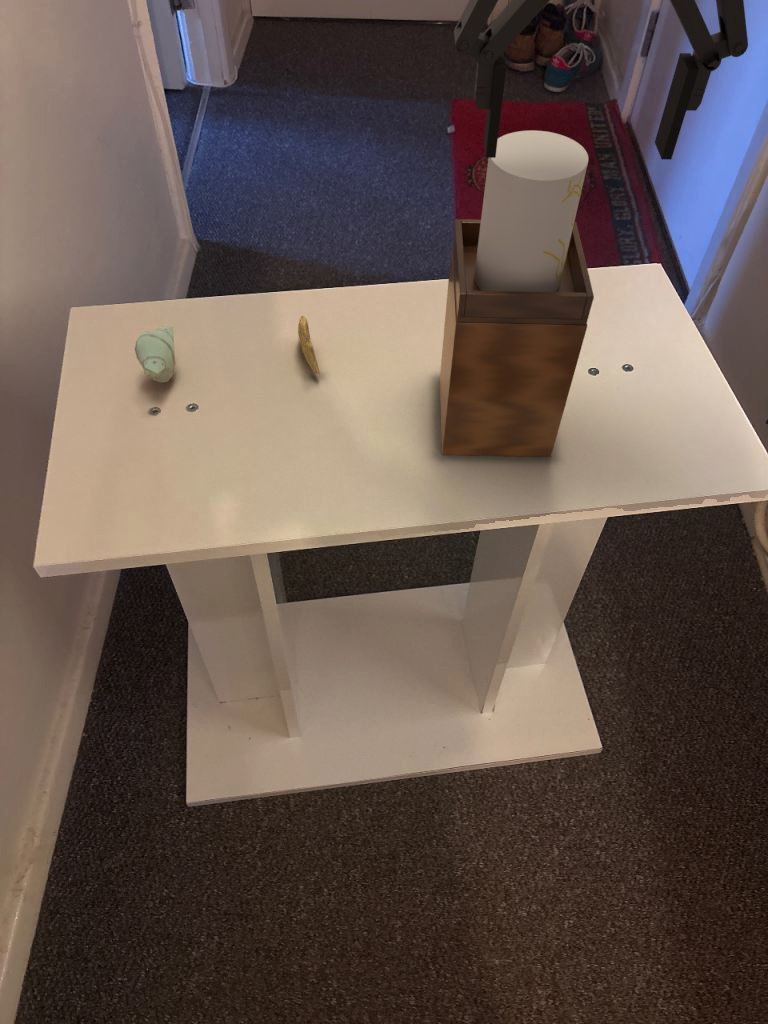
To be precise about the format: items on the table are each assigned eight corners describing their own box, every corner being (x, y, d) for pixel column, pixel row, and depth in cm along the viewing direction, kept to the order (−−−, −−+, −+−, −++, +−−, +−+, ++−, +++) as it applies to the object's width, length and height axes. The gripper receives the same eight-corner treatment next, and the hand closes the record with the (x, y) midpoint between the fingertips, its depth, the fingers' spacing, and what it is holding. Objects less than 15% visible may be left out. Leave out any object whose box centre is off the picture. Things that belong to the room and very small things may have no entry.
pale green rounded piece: (172, 404, 87) (159, 359, 82) (138, 402, 87) (122, 357, 82) (187, 357, 92) (175, 312, 87) (154, 356, 92) (140, 311, 87)
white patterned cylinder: (559, 309, 69) (588, 184, 59) (470, 300, 70) (485, 175, 60) (560, 257, 74) (588, 134, 64) (477, 249, 75) (492, 126, 65)
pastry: (295, 339, 94) (291, 306, 90) (306, 336, 95) (303, 304, 91) (311, 385, 89) (308, 353, 85) (323, 383, 90) (321, 350, 86)
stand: (539, 381, 90) (570, 248, 76) (551, 456, 83) (587, 325, 69) (439, 379, 90) (451, 246, 76) (442, 454, 83) (455, 323, 69)
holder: (569, 249, 76) (576, 221, 73) (586, 325, 69) (594, 296, 66) (452, 247, 76) (455, 218, 73) (456, 322, 69) (459, 294, 66)
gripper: (850, -235, 45) (723, 128, 61) (429, -237, 45) (417, 125, 62) (901, -210, 40) (748, 176, 57) (431, -211, 40) (417, 172, 57)
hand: (575, 150), depth 59 cm, fingers open, 13 cm apart
